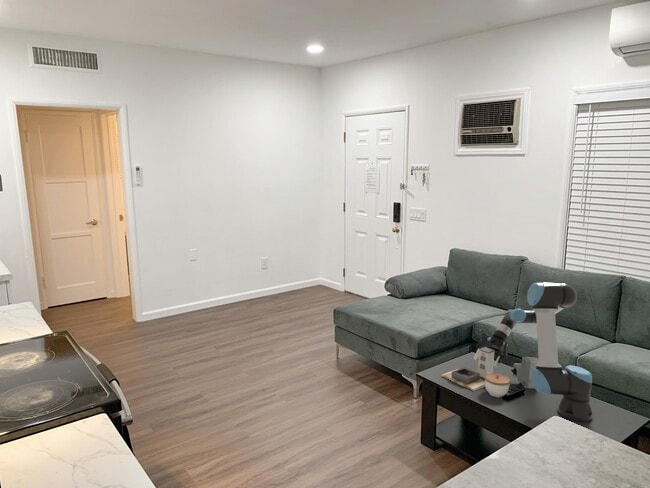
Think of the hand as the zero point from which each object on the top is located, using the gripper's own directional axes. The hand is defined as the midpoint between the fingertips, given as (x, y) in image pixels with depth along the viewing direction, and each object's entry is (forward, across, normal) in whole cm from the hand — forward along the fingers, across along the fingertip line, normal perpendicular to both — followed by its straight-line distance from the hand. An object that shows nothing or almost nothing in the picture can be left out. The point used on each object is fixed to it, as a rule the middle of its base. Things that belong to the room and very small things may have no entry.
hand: (484, 363), depth 270 cm
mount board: (+16, +2, +4) cm, 16 cm away
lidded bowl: (+15, -18, +4) cm, 24 cm away
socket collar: (+15, +2, +5) cm, 16 cm away
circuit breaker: (-1, -20, -12) cm, 24 cm away
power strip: (+5, 0, -6) cm, 8 cm away
